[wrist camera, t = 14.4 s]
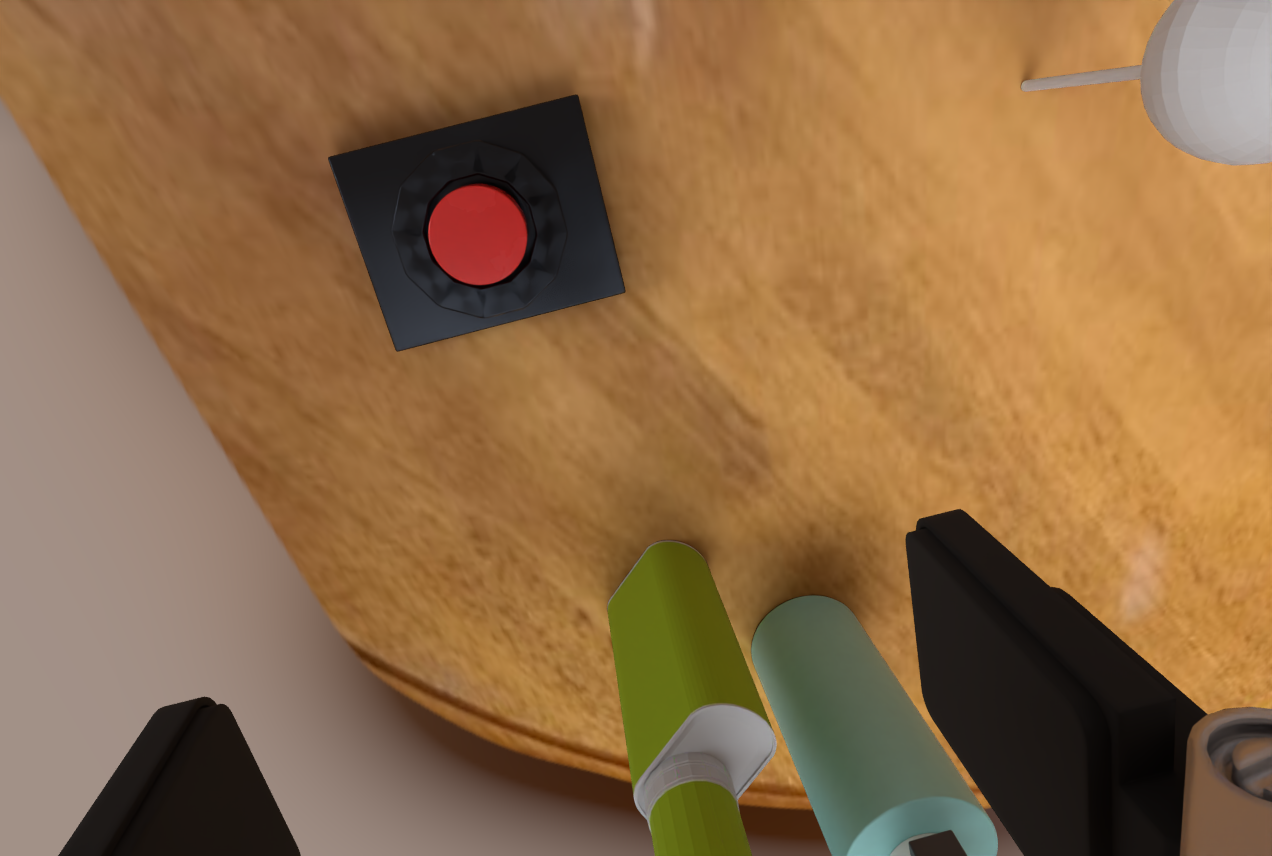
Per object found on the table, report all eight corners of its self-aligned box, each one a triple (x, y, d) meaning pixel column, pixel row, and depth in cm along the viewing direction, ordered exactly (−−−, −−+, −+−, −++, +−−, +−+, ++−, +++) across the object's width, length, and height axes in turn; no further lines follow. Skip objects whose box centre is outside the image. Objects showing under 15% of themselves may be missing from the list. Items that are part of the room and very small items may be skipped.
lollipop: (1120, 71, 35) (1506, 22, 21) (1028, 187, 36) (1336, 213, 22) (1023, -25, 34) (1373, -147, 19) (930, 100, 35) (1197, 69, 21)
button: (450, 288, 32) (445, 295, 30) (421, 196, 31) (414, 199, 29) (538, 265, 32) (538, 271, 31) (513, 172, 31) (511, 174, 29)
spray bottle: (741, 611, 42) (902, 987, 23) (852, 581, 42) (1100, 930, 24) (761, 703, 44) (925, 1114, 26) (867, 674, 44) (1106, 1062, 26)
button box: (402, 343, 36) (388, 363, 32) (337, 156, 33) (314, 158, 30) (622, 286, 36) (630, 300, 33) (576, 96, 33) (580, 91, 30)
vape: (594, 620, 41) (638, 1015, 23) (660, 529, 40) (764, 868, 21) (654, 651, 42) (744, 1054, 24) (720, 563, 41) (870, 915, 22)
